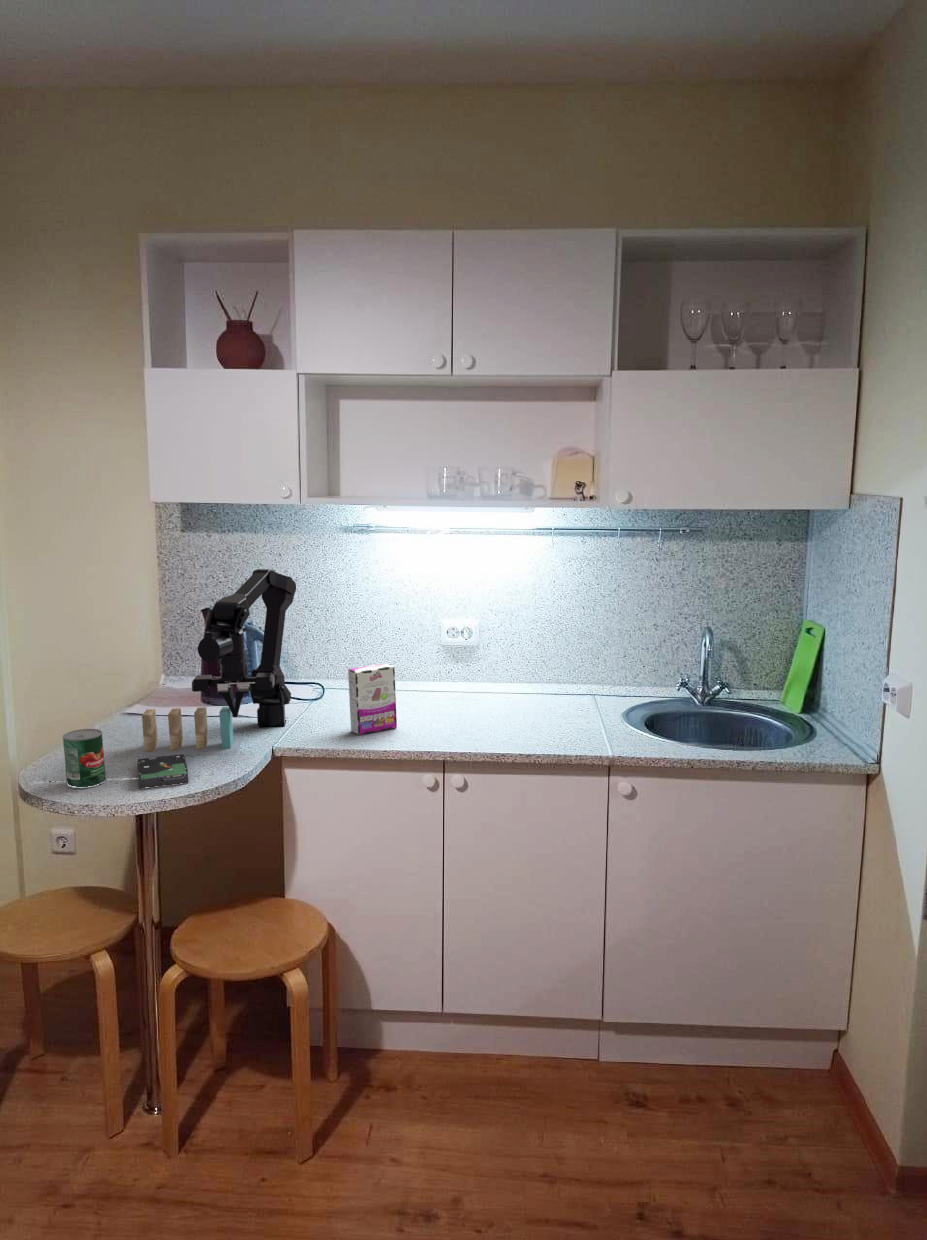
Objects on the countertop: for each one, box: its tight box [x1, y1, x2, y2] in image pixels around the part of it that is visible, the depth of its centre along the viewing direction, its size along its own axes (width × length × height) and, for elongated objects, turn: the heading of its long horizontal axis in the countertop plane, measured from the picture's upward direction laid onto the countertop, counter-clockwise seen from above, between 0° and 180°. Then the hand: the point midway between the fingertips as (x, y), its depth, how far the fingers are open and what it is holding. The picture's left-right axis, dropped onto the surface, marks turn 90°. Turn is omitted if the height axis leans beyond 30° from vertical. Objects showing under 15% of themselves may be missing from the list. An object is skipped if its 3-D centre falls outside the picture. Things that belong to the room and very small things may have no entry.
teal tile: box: [218, 705, 235, 749], centre depth 224 cm, size 2×5×9 cm, turn 5°
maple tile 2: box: [193, 706, 209, 750], centre depth 224 cm, size 2×5×9 cm, turn 6°
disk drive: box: [137, 754, 190, 788], centre depth 206 cm, size 10×3×15 cm
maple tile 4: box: [141, 708, 159, 752], centre depth 223 cm, size 2×5×9 cm, turn 6°
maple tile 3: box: [167, 707, 184, 751], centre depth 223 cm, size 2×5×9 cm, turn 6°
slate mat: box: [132, 737, 244, 758], centre depth 224 cm, size 24×12×1 cm, turn 96°
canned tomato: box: [62, 728, 107, 787], centre depth 201 cm, size 8×8×11 cm
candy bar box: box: [347, 663, 398, 736], centre depth 237 cm, size 11×5×16 cm, turn 123°
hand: (235, 716), depth 224 cm, fingers closed
